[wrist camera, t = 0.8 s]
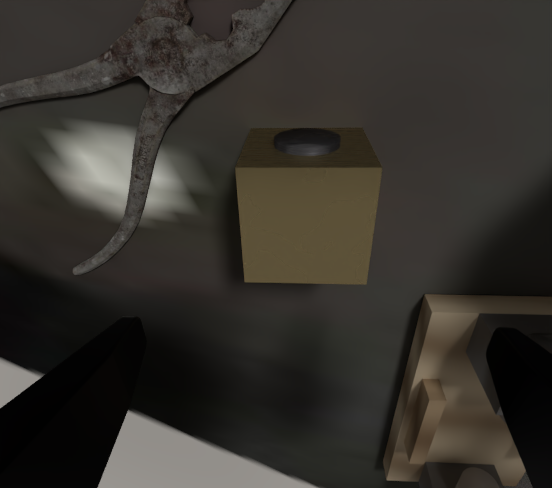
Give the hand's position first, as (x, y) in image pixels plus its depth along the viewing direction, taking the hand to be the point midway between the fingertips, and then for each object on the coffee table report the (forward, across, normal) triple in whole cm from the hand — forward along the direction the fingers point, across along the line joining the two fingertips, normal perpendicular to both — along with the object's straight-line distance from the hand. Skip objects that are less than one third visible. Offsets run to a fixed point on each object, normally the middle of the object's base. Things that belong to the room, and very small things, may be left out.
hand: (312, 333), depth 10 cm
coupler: (+10, 0, 0) cm, 10 cm away
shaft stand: (+10, -12, +16) cm, 22 cm away
